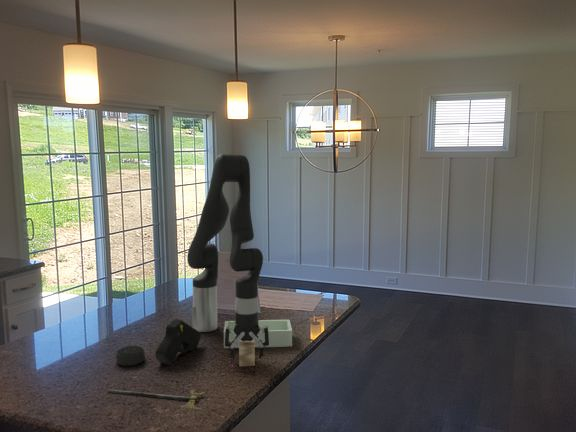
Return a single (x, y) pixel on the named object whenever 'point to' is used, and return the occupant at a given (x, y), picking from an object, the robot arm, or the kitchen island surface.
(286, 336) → the tub
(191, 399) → the decorative axe
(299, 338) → the kitchen island surface
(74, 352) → the kitchen island surface
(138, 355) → the smart speaker
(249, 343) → the block
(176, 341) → the taser
